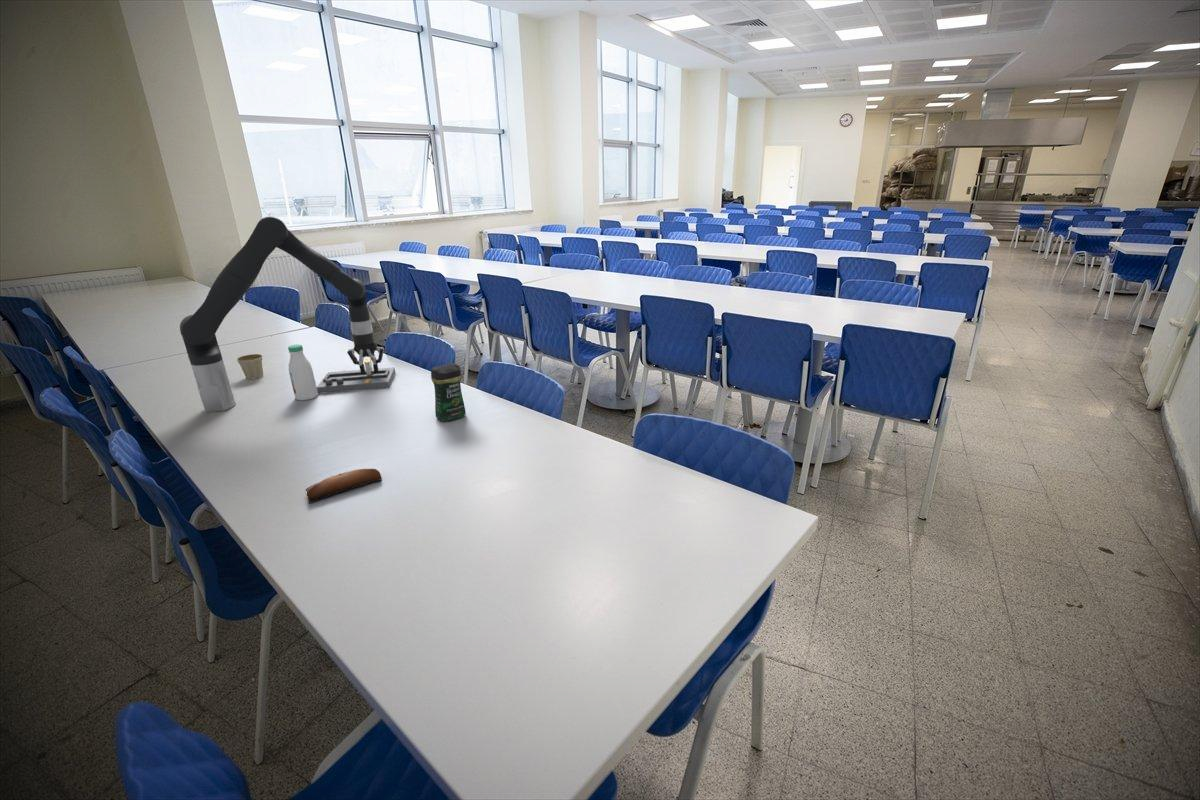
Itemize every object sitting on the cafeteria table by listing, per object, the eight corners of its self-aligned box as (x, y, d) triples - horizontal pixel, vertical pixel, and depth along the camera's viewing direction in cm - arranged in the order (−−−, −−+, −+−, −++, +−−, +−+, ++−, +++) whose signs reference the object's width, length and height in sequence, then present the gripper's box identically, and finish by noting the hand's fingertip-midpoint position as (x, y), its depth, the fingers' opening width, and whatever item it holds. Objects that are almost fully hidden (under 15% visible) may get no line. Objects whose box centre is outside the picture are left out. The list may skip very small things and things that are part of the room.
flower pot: (259, 380, 218) (253, 360, 215) (236, 381, 219) (230, 360, 215) (272, 373, 227) (267, 353, 224) (250, 373, 227) (245, 354, 224)
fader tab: (371, 377, 213) (369, 362, 211) (367, 377, 213) (364, 362, 210) (373, 373, 217) (370, 359, 215) (369, 373, 217) (366, 359, 214)
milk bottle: (322, 393, 204) (311, 343, 197) (310, 401, 197) (298, 349, 190) (303, 393, 205) (291, 342, 197) (290, 400, 198) (278, 348, 190)
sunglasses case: (372, 468, 150) (373, 454, 145) (381, 488, 147) (382, 475, 142) (302, 490, 139) (299, 476, 135) (310, 512, 136) (308, 498, 132)
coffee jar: (443, 424, 177) (436, 371, 170) (433, 417, 182) (425, 365, 175) (469, 416, 183) (464, 364, 175) (459, 409, 188) (452, 359, 181)
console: (389, 387, 209) (387, 377, 208) (317, 393, 204) (315, 383, 203) (395, 372, 226) (393, 363, 224) (329, 378, 221) (327, 368, 219)
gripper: (340, 335, 203) (349, 377, 210) (380, 332, 206) (387, 374, 212) (345, 330, 210) (353, 371, 217) (383, 328, 213) (390, 368, 219)
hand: (370, 372), depth 214 cm, fingers open, 4 cm apart
